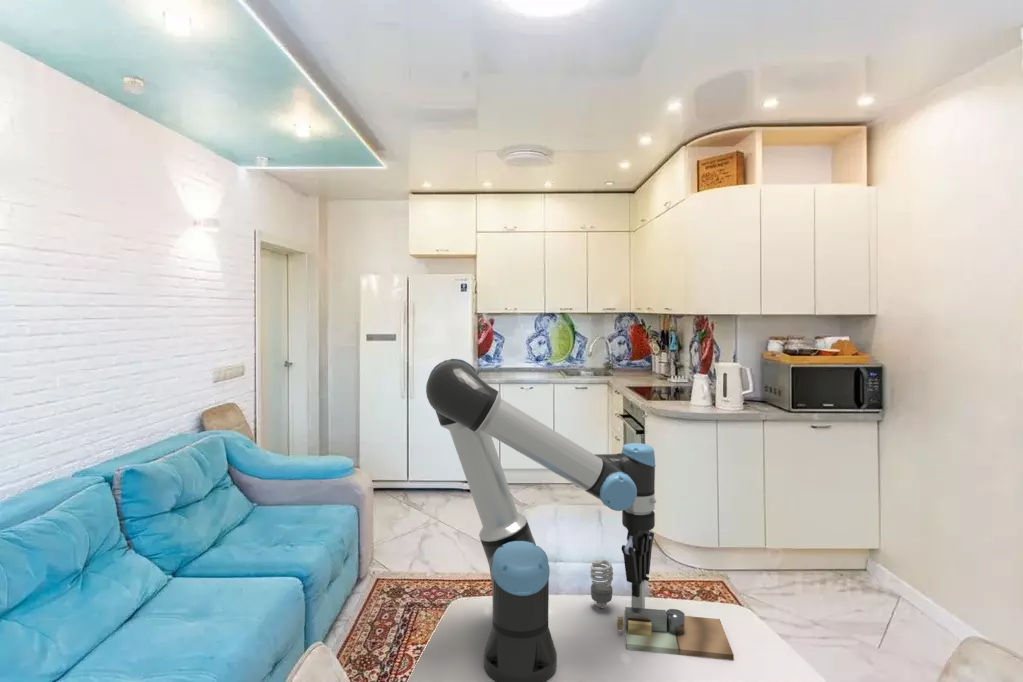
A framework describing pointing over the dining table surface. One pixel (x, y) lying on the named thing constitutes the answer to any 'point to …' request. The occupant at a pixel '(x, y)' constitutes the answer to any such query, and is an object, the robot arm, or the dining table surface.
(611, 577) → the light bulb
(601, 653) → the dining table surface
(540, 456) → the robot arm
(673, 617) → the bar
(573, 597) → the dining table surface
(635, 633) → the door board
